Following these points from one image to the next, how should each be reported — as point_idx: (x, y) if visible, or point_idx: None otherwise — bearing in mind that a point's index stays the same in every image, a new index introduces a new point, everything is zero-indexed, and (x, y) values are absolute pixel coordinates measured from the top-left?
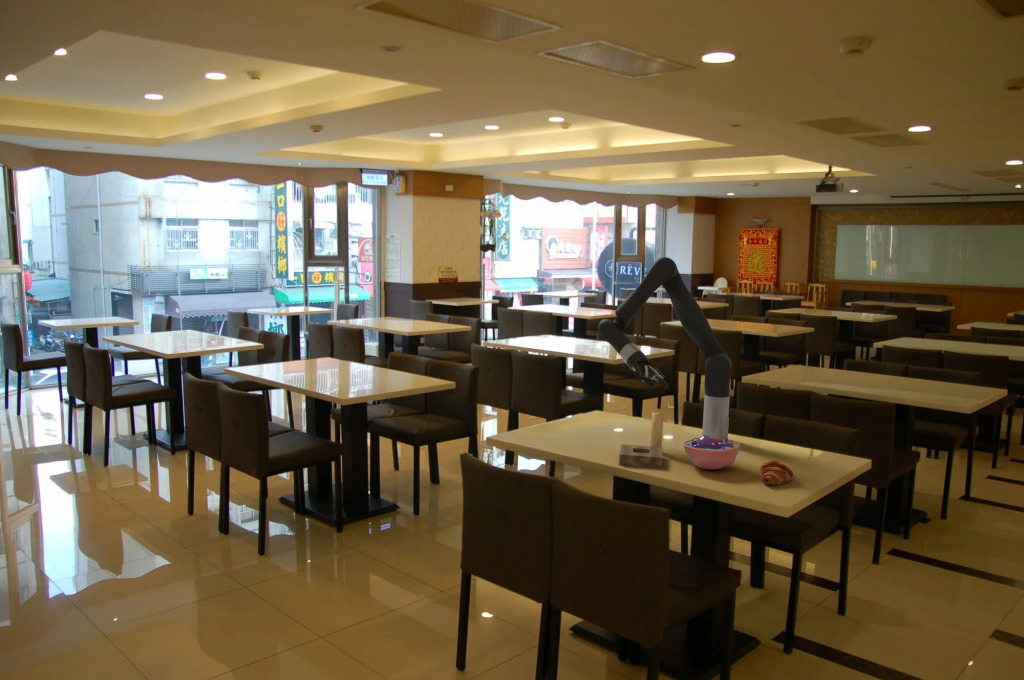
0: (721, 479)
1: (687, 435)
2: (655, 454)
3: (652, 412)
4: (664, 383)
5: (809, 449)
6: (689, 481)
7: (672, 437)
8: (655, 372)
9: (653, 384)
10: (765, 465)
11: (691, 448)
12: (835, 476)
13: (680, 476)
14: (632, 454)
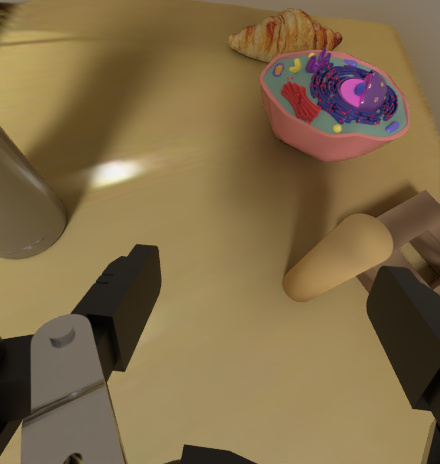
0: None
1: (7, 317)
2: (420, 213)
3: (376, 263)
4: (145, 275)
5: (4, 47)
6: (423, 134)
7: None
8: (118, 444)
9: (403, 267)
10: (314, 31)
11: (408, 113)
12: (191, 3)
13: (415, 155)
14: None
